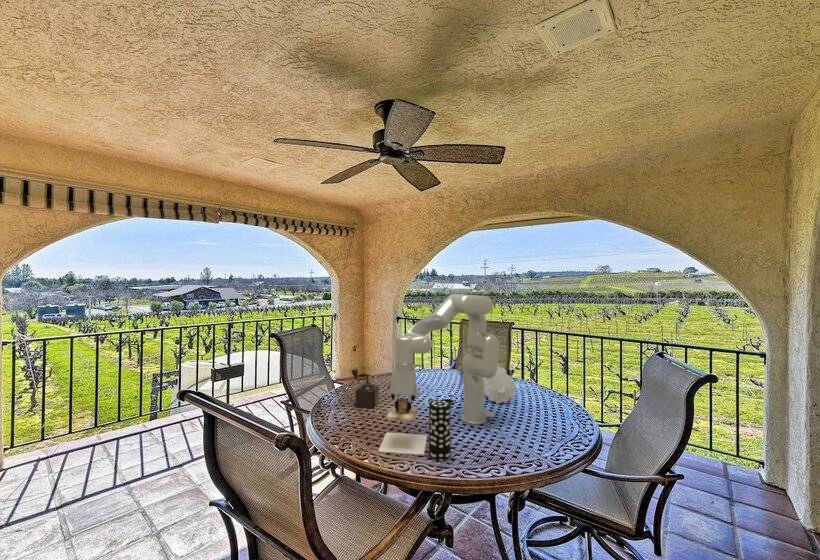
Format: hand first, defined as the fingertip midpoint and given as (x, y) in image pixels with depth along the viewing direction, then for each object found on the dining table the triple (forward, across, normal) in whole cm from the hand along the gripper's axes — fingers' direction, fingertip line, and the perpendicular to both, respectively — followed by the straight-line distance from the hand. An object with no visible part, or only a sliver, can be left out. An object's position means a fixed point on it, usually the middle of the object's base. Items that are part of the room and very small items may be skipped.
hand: (403, 410), depth 139 cm
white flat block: (+14, -1, 0) cm, 14 cm away
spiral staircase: (+13, -45, -60) cm, 75 cm away
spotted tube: (+14, -16, +6) cm, 22 cm away
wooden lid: (+2, 0, 0) cm, 2 cm away
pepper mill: (+14, +27, -40) cm, 50 cm away
